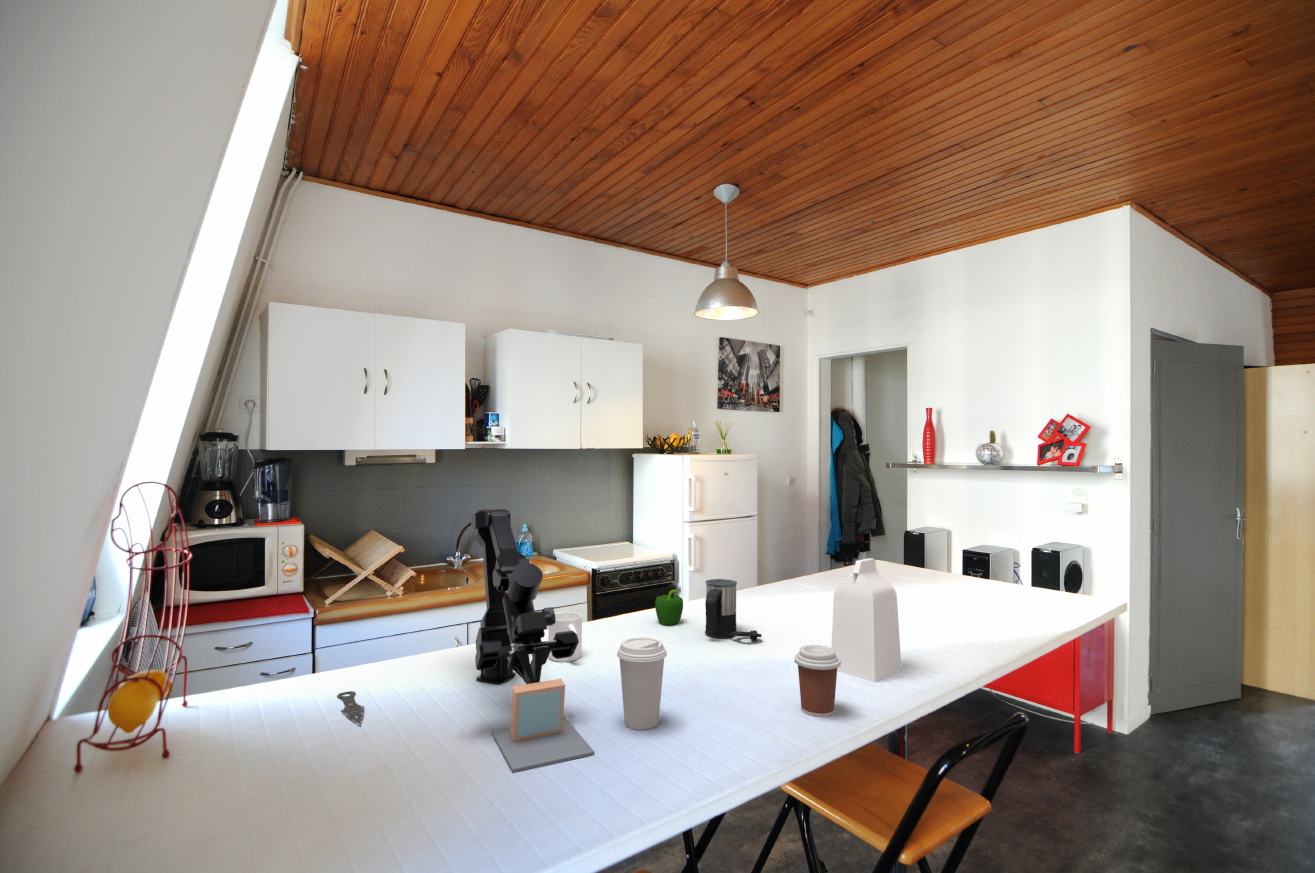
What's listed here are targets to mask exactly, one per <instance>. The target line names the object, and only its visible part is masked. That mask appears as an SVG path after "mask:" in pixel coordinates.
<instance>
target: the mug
mask: <svg viewBox="0 0 1315 873" xmlns="http://www.w3.org/2000/svg"><path fill="white" fill-rule="evenodd" d="M554 613H555V619H556V622H555V624H553V625H552V626H548V632H547V633H548V638H547V639H548V640H547V641H551V640H553V639H554V637H555V634H556V633H557V632H565V631H574V632H575V633H576V634H577V636H578V640H579V643H578V645H577V647H576V649H575V651H574V654H573V655H572V656H571V657H567V658H560V659H556V658H555V657H553V656H552V653H551V651H550V654H549V656H548V658H549V659H550V660H551V661H553V662H558V663H569V662H570V663H571V662H574V661H577V660H579V659H580V658H581V657H582V650H583V649H582V648H583V645H582V641H583V638H582V637H583V631H582V630H583V615H582V614H581V613H579V612H576V611H574V612H572V611H559V612H554Z"/></svg>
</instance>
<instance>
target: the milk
mask: <svg viewBox="0 0 1315 873" xmlns="http://www.w3.org/2000/svg"><path fill="white" fill-rule="evenodd" d="M832 604H833V605H832V606H833V608H832V629H831V631H832V632H831V648H832V649H833V650H835V655H837V657H838V658H840V661H841V666H839V667H838V668H837V673H842V674H846V675H849V676H851V677H854V678H858V677H859V679H862V680H865V679H866V680H865V681H868V680H869V682H873V683H876V682H879V681H881V680H884V679H886V678H888V677H891V676H893V675H895V674H897V673H899V671H900V672H902V669H903V668H902V657H901V654H902V653H901V642H900V641H901V640H900V639H901V638H900V625H899V624H900V622H899V611H898V596H897V592H896V590H895V588H894V587H893V585H892V584H891V583H890V582H889V581H888V580H887V579H886V578H885V577H884V576H883V575H882V573H880V572H879V571H878V570H877V563H876V560H875V558H871V557H870V558H864V559H858V560H855V565H854V568H853V572H851V574H849V575H848V576H847V578H846V579H845V580H843V582H841V583H840V584H839V585H838V586H837V587H836V589H835V590H834V592H833V603H832Z"/></svg>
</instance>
